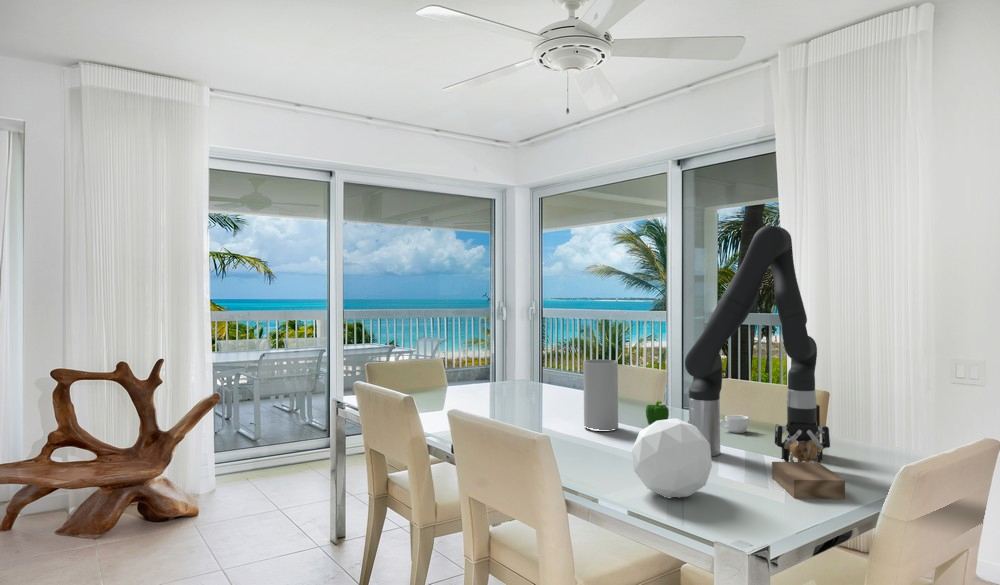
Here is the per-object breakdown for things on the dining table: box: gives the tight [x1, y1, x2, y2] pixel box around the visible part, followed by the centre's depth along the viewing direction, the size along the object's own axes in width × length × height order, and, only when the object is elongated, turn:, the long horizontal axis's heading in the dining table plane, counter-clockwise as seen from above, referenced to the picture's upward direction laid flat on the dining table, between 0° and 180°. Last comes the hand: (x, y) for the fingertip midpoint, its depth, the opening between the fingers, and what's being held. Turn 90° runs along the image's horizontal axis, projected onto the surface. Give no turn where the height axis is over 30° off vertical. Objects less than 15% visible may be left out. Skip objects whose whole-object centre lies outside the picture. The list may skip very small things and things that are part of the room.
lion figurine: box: [780, 440, 822, 462], centre depth 179 cm, size 15×5×9 cm, turn 14°
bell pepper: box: [645, 400, 670, 426], centre depth 234 cm, size 8×8×10 cm
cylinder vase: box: [582, 359, 619, 430], centre depth 231 cm, size 12×12×25 cm
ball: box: [631, 417, 713, 498], centre depth 157 cm, size 19×20×20 cm
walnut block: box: [771, 461, 846, 500], centre depth 161 cm, size 12×16×5 cm
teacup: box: [720, 414, 749, 434], centre depth 223 cm, size 10×8×5 cm
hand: (802, 461), depth 178 cm, fingers open, 8 cm apart
